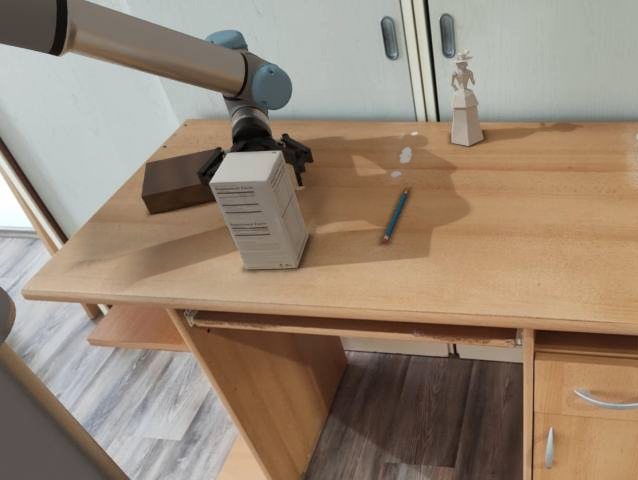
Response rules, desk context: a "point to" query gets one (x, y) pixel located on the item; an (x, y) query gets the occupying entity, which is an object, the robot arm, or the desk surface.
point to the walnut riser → (175, 182)
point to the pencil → (395, 217)
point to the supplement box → (260, 209)
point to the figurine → (464, 105)
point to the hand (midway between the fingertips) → (259, 188)
